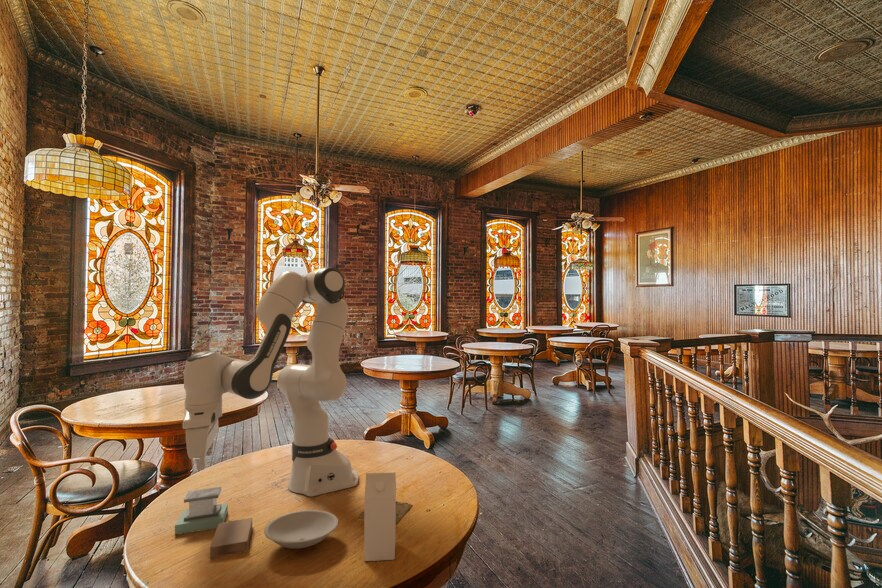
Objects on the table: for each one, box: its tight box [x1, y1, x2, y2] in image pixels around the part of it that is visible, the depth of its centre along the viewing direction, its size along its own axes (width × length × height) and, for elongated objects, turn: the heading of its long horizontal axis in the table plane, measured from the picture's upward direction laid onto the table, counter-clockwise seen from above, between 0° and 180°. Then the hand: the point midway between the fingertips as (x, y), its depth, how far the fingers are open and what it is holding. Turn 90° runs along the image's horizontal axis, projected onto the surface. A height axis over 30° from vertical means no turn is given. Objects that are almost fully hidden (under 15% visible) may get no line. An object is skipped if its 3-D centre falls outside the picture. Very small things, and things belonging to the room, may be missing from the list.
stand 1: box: [174, 503, 229, 535], centre depth 110 cm, size 11×8×2 cm
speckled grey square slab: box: [357, 500, 414, 525], centre depth 117 cm, size 12×12×1 cm
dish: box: [263, 509, 339, 550], centre depth 101 cm, size 18×14×5 cm
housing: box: [183, 486, 222, 521], centre depth 111 cm, size 5×8×6 cm, turn 109°
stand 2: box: [209, 517, 253, 559], centre depth 102 cm, size 8×11×2 cm
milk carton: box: [363, 472, 397, 562], centre depth 98 cm, size 7×7×19 cm
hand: (205, 461), depth 111 cm, fingers open, 8 cm apart
